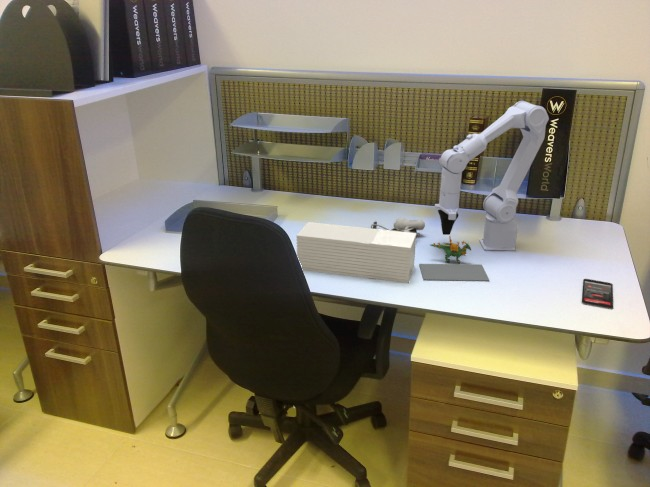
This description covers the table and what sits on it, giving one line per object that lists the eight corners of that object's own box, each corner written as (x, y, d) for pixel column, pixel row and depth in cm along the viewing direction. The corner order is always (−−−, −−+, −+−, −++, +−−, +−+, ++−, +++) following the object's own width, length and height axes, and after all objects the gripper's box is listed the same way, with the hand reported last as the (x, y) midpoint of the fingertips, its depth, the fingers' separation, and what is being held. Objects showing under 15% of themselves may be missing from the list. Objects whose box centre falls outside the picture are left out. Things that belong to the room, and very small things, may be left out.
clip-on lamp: (365, 245, 188) (416, 244, 178) (360, 227, 185) (412, 226, 176) (380, 229, 197) (429, 228, 187) (376, 212, 194) (425, 210, 185)
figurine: (469, 265, 166) (472, 239, 163) (428, 261, 169) (429, 236, 165) (469, 261, 169) (472, 235, 165) (428, 257, 171) (430, 232, 168)
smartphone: (581, 302, 145) (583, 278, 158) (581, 305, 145) (582, 280, 158) (613, 308, 142) (612, 283, 155) (612, 311, 143) (612, 285, 155)
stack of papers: (414, 267, 166) (416, 232, 161) (408, 283, 156) (410, 247, 152) (308, 254, 174) (307, 221, 169) (297, 269, 164) (296, 235, 160)
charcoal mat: (481, 265, 166) (481, 264, 166) (489, 281, 157) (489, 280, 157) (419, 264, 167) (419, 263, 167) (423, 280, 158) (423, 279, 157)
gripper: (433, 183, 175) (429, 224, 181) (439, 198, 162) (436, 243, 167) (456, 183, 175) (452, 225, 180) (465, 199, 162) (460, 243, 167)
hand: (446, 233), depth 174 cm, fingers closed
